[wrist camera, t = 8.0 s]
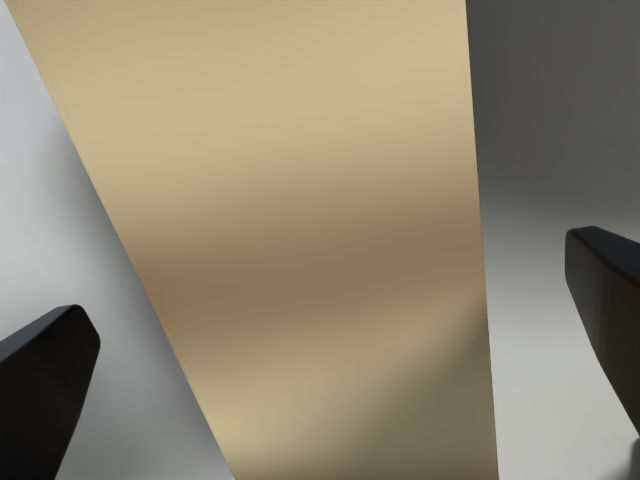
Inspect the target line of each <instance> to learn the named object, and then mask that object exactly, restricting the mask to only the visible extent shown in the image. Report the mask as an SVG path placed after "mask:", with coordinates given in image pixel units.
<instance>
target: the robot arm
mask: <svg viewBox="0 0 640 480" xmlns="http://www.w3.org/2000/svg"><path fill="white" fill-rule="evenodd" d="M565 277H566V281H567V285H568V287H569V290H570V292H571V295H572V297H573V300H574V302H575V305H576V307H577V310H578V312H579V315H580V317H581V320H582V322H583V325H584V327H585V330H586V333H587V335H588V338H589V340H590V343H591V345H592V348H593V350H594V352H595V355H596V357H597V359H598V361H599V363H600V365H601V367H602V369H603V371H604V373H605V375H606V376H607V378H608V380H609V382H610V384H611V385H612V387H613V389H614V391H615V393H616V394H617V396H618V398H619V400H620V402H621V403H622V405H623V407H624V409H625V411H626V412H627V414H628V416H629V418H630V420H631V422H632V423H633V425H634V427H635V429H636V431H637V432H638V434H639V436H640V243H637V242H635V241H632V240H630V239H627V238H625V237H622V236H619V235H617V234H614V233H612V232H609V231H606V230H604V229H601V228H599V227H596V226H587V227H581V228H574V229H570V230H569V231H568V232H567V234H566V239H565ZM99 350H100V338H99V335H98V333H97V331H96V329H95V328H94V326H93V324H92V322H91V321H90V319H89V317H88V315H87V314H86V312H85V310H84V309H83V308H82V307H81V306H80V305H77V304H73V305H66V306H60V307H57V308H55V309H53V310H51V311H50V312H48V313H46V314H45V315H43V316H42V317H40V318H38V319H37V320H35V321H33V322H32V323H30V324H28V325H27V326H25V327H23V328H22V329H20V330H18V331H17V332H15V333H13V334H12V335H10V336H9V337H7V338H5V339H4V340H2V341H0V480H55V478H56V476H57V473H58V471H59V468H60V466H61V463H62V461H63V458H64V456H65V453H66V451H67V448H68V446H69V443H70V441H71V438H72V436H73V433H74V431H75V428H76V426H77V423H78V420H79V418H80V414H81V411H82V408H83V405H84V402H85V398H86V395H87V391H88V388H89V384H90V381H91V377H92V374H93V370H94V367H95V364H96V360H97V357H98V353H99Z"/></svg>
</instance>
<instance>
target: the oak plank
mask: <svg viewBox="0 0 640 480" xmlns="http://www.w3.org/2000/svg"><path fill="white" fill-rule="evenodd" d="M5 2H6V5H7V7H8V9H9V11H10V13H11V15H12V17H13V19H14V21H15V23H16V25H17V27H18V29H19V32H20V34H21V36H22V38H23V40H24V42H25V44H26V46H27V48H28V50H29V52H30V54H31V57H32V59H33V61H34V63H35V65H36V67H37V69H38V71H39V73H40V75H41V77H42V79H43V81H44V84H45V86H46V88H47V90H48V92H49V94H50V96H51V98H52V100H53V102H54V104H55V106H56V108H57V111H58V113H59V115H60V117H61V119H62V121H63V123H64V125H65V127H66V129H67V131H68V133H69V135H70V138H71V140H72V142H73V144H74V146H75V148H76V150H77V152H78V154H79V156H80V158H81V160H82V163H83V165H84V167H85V169H86V171H87V173H88V175H89V177H90V179H91V181H92V183H93V185H94V187H95V190H96V192H97V194H98V196H99V198H100V200H101V202H102V204H103V206H104V208H105V210H106V212H107V214H108V217H109V219H110V221H111V223H112V225H113V227H114V229H115V231H116V233H117V235H118V237H119V239H120V242H121V244H122V246H123V248H124V250H125V252H126V254H127V256H128V258H129V260H130V262H131V264H132V266H133V269H134V271H135V273H136V275H137V277H138V279H139V281H140V283H141V285H142V287H143V289H144V291H145V293H146V296H147V298H148V300H149V302H150V304H151V306H152V308H153V310H154V312H155V314H156V316H157V318H158V321H159V323H160V325H161V327H162V329H163V331H164V333H165V335H166V337H167V339H168V341H169V343H170V345H171V348H172V350H173V352H174V354H175V356H176V358H177V360H178V362H179V364H180V366H181V368H182V370H183V372H184V375H185V377H186V379H187V381H188V383H189V385H190V387H191V389H192V391H193V393H194V395H195V397H196V399H197V402H198V404H199V406H200V408H201V410H202V412H203V414H204V416H205V418H206V420H207V422H208V424H209V427H210V429H211V431H212V433H213V435H214V437H215V439H216V441H217V443H218V445H219V447H220V449H221V451H222V454H223V456H224V458H225V460H226V462H227V464H228V466H229V468H230V470H231V472H232V474H233V476H234V478H235V480H499V474H498V460H497V446H496V431H495V417H494V403H493V389H492V374H491V360H490V346H489V331H488V317H487V303H486V289H485V274H484V260H483V246H482V232H481V217H480V203H479V189H478V174H477V160H476V146H475V132H474V117H473V103H472V89H471V75H470V60H469V46H468V32H467V17H466V3H465V0H5Z"/></svg>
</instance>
